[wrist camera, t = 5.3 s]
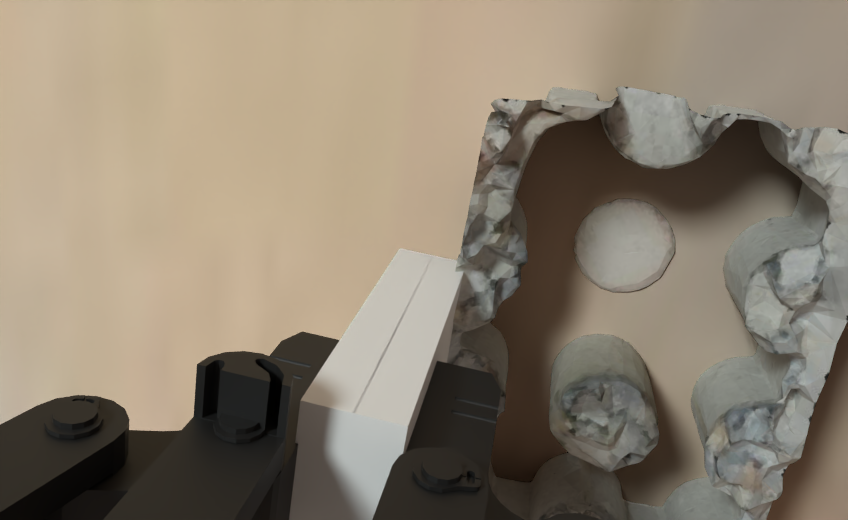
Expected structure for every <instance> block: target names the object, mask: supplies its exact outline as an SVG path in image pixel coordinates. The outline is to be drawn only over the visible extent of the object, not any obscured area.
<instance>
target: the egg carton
mask: <svg viewBox="0 0 848 520" xmlns="http://www.w3.org/2000/svg"><path fill="white" fill-rule="evenodd" d="M616 91H617V93H618V95H619V96H617V97H616V98H615V99H613V100H612V101H610V102H606V101H598V98H597V95H596V94H595V93H592V92H588V91H583V90H573V89H566V88H557V87H553V88H552V89H551V90H550V91H549V94H548V96H547V98H546V100H545V101H544V100H534V101H526V100H513V99H497V100H494V101H493V102H492V103H491V105H492V106H493V108H494V110H495V111H496V112H492V113H491V114H490V116H489V118H488V121H487V124H486V128H485V133H484V136H483V137H482V145H481V151H480V156H479V161H478V167H477V172H476V177H475V181H474V188H473V192H472V197H471V201H470V205H469V212H468V218H467V222H466V226H465V231H464V236H463V242H462V248H461V253H460V255H459V256H458V260H457V265H456V269H455V272H460V271H464V273H463V277H462V282H461V287H460V292H459V297H458V301H457V306H456V310H455V315H454V320H453V323H454V324H453V330H452V335H451V341H450V348H449V354H448V360H447V363H449V364H453V365H458V366H462V367H466V368H471V369H475V370H479V371H484V372H488V373H492V375H493V376H494V378H495V380H496V382H497V384H498V385H499V387H500V389H501V395H500V401H499V408H498V414H497V418H498V416H499V415H500V413H502V412H504V410H505V390H506V381H507V374H508V360H509V353H508V349H507V345H506V341H505V339H504V337H503V335H502V333H501V332H500V331H499V330H498V329H497V328H496V327H494V326H493V325H492V324H491V323H490V322H491V321H492V320H493V319H494V318H495V316H496V313H497V309H498V307H499V306H500V305H501V303H502V302H503V300H505V299H507V298H509V297H511V295H512V294H513V293H514V292H515V291H516V290H517V289H518V288H519V286H520V285H521V273H520V270H521V267H522V266H523V265H525V264H526V263H527V262H528V257H527V250H526V242H527V221H526V217H525V214H524V210H523V209H522V207H521V205H520V203H519V201H518V199H517V198H516V194H517V191H518V188H519V185H520V182H521V178H522V175H523V172H524V169H525V166H526V164H527V162H528V160H529V158H530V156H531V154H532V152H533V150H534V147H535V145H536V143H537V142H538V141H539V140H540V139H541V137H542V136H543V135H544V134H545V132H546V131H547V130H548V129H549V128H551V127H554V126H556V125H559V124H562V123H564V122H568V121H582V120H588V119H590V118H592V117H594V116H596V115H598V114H600V118H601V122H602V125H603V127H604V130H605V133H606V136H607V137H608V139H609V140H610V142H611V143H612V145H613V146H614V148H615V149H616V150H617V151H618V152H619V153H620V154H621V155H622V156H624V157H625V158H626V159H629V160H631V161H633V162H635V163H636V164H638V165H640V166H641V167H643V168H652V169H670V168H674V167H677V166H681V165H684V164H688V163H690V162H692V161H693V160H695V159H697V158H699V157H701V156H702V155H703V154H704V153H705V152H706V151H708V150H709V149H710V148H711V147H712V146H713V145H714V144H715V142H716V141H717V139H718V137H719V136H720V134H721V133H722V132H723V131H724V130H725V129H726V128H728V127H729V126H730V125H731V124H732V123H733V122H735V121H736V120H737V119H747V120H754V121H758V125H759V131H760V137H761V139H762V141H763V143H764V146H765V148H766V150H767V151H768V152H769V153H770V155H771V156H772V157H773V158H775V159H776V160H777V161H778V162H779V163H781V164H782V165H784V166H785V167H786V168H788V169H789V170H790V171H792V172H793V173H794V174H796V175H797V176H798V177H799V178H800V179H801V180H802V181H803V182H802V186H801V190H800V194H799V198H798V202H797V205H796V208H795V210H794V212H793V214H792V216H789V217H774V218H768V219H766V220H763V221H761V222H758V223H756V224H754V225H752V226H750V227H748V228H747V229H746V230H745V231H743V232H742V233H741V234H740V235H739V236H738V237H737V238H736V239H735V241H734V242H733V243H732V245H731V246H730V248H729V250H728V251H727V253H726V255H725V262H724V267H723V271H724V277H725V285H726V287H727V289H728V291H729V292H730V294H731V296H732V298H733V300H734V302H735V303H736V305H737V307H738V309H739V311H740V313H741V315H742V317H743V319H744V321H745V326H746V328H747V329H748V331H749V332H750V333H751V335H752V336H753V337H754V339H755V340H756V341H757V343H758V347H757V350H756V353H755V354H754V355H753V356H750V357H735V358H731V359H727V360H724V361H722V362H719V363H717V364H715V365H713V366H712V367H710V368H709V369H707V370H706V371H705V372H704V373H703V374H702V375H701V376H700V378H699V379H698V381H697V383H696V385H695V387H694V389H693V393H692V398H691V408H692V412H693V416H694V418H695V421H696V424H697V428H698V432H699V436H700V439H701V442H702V444H703V447H704V453H705V469H706V472H707V474H708V477H706V478H697V479H694V480H691V481H688V482H685V483H683V484H682V485H680V486H679V487H677V488H676V489H675V490H674V491H673V492H672V493H671V495H670V496H669V497H668V498H667V500H666V502H665V503H664V505H663V506H662V507H657V506H655V507H653V506H650V505H647V504H639V503H633V502H629V501H626V500H624V499H623V497H622V493H621V485H620V482H619V480H618V477H617V476H616V474H615V473H614V470H617V469H619V468H622V467H625V466H628V465H631V464H636V463H640V462H641V461H642V460H644V459H645V457H646V456H647V455H648V454H649V453H650V452H651V451H652V450H653V449H654V447H655V446H656V445H657V444H658V439H659V431H658V427H657V425H658V416H657V411H656V405H655V400H654V396H653V392H652V387H651V383H650V379H649V376H648V372H647V369H646V365H645V363H644V362H643V360H642V358H641V357H640V355H639V354H638V353H637V351H636V350H635V349H634V348H633V347H632V346H631V345H630V343H629V342H627V341H625V340H623V339H620V338H618V337H615V336H613V335H604V334H593V335H586V336H582V337H580V338H577V339H575V340H573V341H572V342H570V343H569V344H568V345H566V346H565V347H564V348H563V349H562V350H561V352H560V353H559V354H558V356H557V357H556V359H555V361H554V363H553V367H552V373H551V384H550V387H551V398H550V409H549V423H550V431H551V432H552V434H553V435H554V437H555V438H556V439H557V440H558V441H559V443H560V444H561V445H562V446H563V447H564V448H565V449H566V450H567V451H568V452H569V453H565V454H561V455H558V456H556V457H553V458H551V459H550V460H548V461H547V462H546V463H544V464H543V465H542V466H541V467H540V469H539V470H538V471H537V473H536V475H535V477H534V479H533V481H532V482H528V483H525V482H520V481H514V480H508V479H503V478H499V477H495V474H494V472H493V467H492V464H491V460H490V466H489V473H488V477H489V485H490V487H491V490H492V492H493V494H494V495H495V496H496V498H497V499H498V500H499V501H500V503H502V504H503V505H504V506H505V507H506V508H507V509H508V510H510V511H511V512H512V513H514V514H516V515H517V516H519V517H521V518H522V519H524V520H545V519H547V518H550V517H552V516H554V515H556V514H564V513H578V514H583V515H587V516H592V517H596V518H598V519H600V520H766V519H767V516H768V513H769V510H770V507H771V505H772V502H773V500H776V499H778V498H779V497H780V496H781V494H782V490H783V473H784V472H785V470H786V468H787V467H788V465H789V464H792V463H794V462H796V461H798V460H799V459H800V458H801V455H802V451H803V448H804V444H805V440H806V437H807V433H808V428H809V424H810V420H811V417H812V414H813V410H814V407H815V404H816V402H817V399H818V397H819V395H820V393H821V390H822V388H823V386H824V384H825V381H826V379H827V377H828V375H829V371H830V367H831V364H832V360H833V356H834V352H835V349H836V345H837V342H838V340H839V338H840V336H841V334H842V332H843V330H844V328H845V326H846V324H847V321H848V133H846V132H843V131H841V130H839V129H833V128H827V127H819V128H801V129H797V130H794V129H790V128H789V127H788V126H786V125H785V124H784V123H783V122H781V121H777V120H773V118H770V117H768V116H765V115H764V114H762V113H760V112H758V111H757V110H751V109H744V108H737V107H729V106H724V105H713V106H709V107H708V109H707V111H706V113H705V116H704V115H699V114H698V113H696V112H694V111H693V110H691V109H689V106H688V103H687V100H686V99H685V98H678V97H675V96H672V95H668V94H661V93H656V92H652V91H647V90H641V89H635V88H629V87H617V88H616ZM574 240H575V248H574V249H573V251H574V252H575V254H576V256H575V260H576V262H577V264H578V266H579V268H580V270H581V271H582V273H583V274H584V275H585V276H586V277H587V278H588V279H589V280H590V281H591V282H592V283H594V284H595V285H597V286H598V287H600V288H601V289H604V290H608V291H611V292H632V291H636V290H639V289H642V288H645V287H648V286H649V285H650V284H652V283H653V282H655V281H656V280H657V279H659V278H660V277H661V275H662V274H663V272H664V271H665V269H666V267H667V266H668V264H669V262H670V261H671V259H672V257H673V255H674V253H675V239H674V235H673V230H672V228H671V226H670V225H669V223H668V222H667V220H666V219H665V217H664V216H663V215H662V214H661V213H660V212H659V210H658V209H657V208H656V207H654V206H652V205H651V204H649V203H647V202H643V201H639V200H634V199H617V200H615V201H613V202H612V203H606V204H603V205H600V206H598V207H596V208H594V209H593V211H592V212H591V213H590V214H588V215H587V216H586V217H585V218H584V219H583V221H582V223H581V225H580V227H579V229H578V231H577V233H576V235H575V237H574Z"/></svg>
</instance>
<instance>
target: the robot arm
mask: <svg viewBox="0 0 848 520" xmlns="http://www.w3.org/2000/svg"><path fill="white" fill-rule="evenodd" d="M456 265H457V260H452V259H448V258H443V257H439V256H434V255H429V254H425V253H420V252H415V251H411V250H406V249H402V248H400V249H399V250H398V252H397V253H396V255H395V256H394V258H393V259H392V261H391V262H390V264H389V265H388V267H387V268H386V270H385V272H384V273H383V275H382V276H381V278H380V279H379V281H378V282H377V284H376V285H375V287H374V288H373V290H372V291H371V293H370V295H369V296H368V298H367V299H366V301H365V302H364V304H363V305H362V307H361V308H360V310H359V311H358V313H357V314H356V316H355V318H354V319H353V321H352V322H351V324H350V325H349V327H348V328H347V330H346V331H345V333H344V334H343V336H342V337H341V339H340V340H336V339H332V338H328V337H323V336H319V335H315V334H310V333H306V332H300V333H298V334H296V335H294V336H292V337H290V338H287V339H285V340H283V341H281V342H280V344H279V345H278V346H277V347H276V349H275V350H274V351H273V352H272V353H271V355H270V356H267V355H264V354H260V353H253V352H245V351H240V352H225V353H221V354H217V355H214V356H210V357H208V358H206V359H205V360H203V361H202V362H200V363H199V364H197V374H196V390H195V406H194V417H193V418H192V419H191V420H190V421H189V423H188V424H187V425H186V426H185V427H184V428H183V429H182V430H180V431H137V430H129V418H128V415H127V413H126V411H125V409H124V408H123V407H121V406H120V405H118V404H117V403H116V402H114V401H112V400H108V399H104V398H101V397H97V396H85V395H76V396H70V397H64V398H57V399H54V400H51V401H49V402H46V403H43V404H40V405H38V406H36V407H34V408H32V409H30V410H28V411H26V412H24V413H22V414H20V415H18V416H16V417H14V418H12V419H10V420H9V421H7V422H5V423H3V424H1V425H0V520H524V519H522V518H521V517H519V516H517V515H516V514H514V513H512V512H511V511H510V510H508V509H507V508H506V507H505V506H504V505H503V504H502V503H500V501H499V500H498V499H497V498H496V496H495V495H494V494H493V492H492V490H491V487H490V485H489V477H488V473H489V466H490V460H491V453H492V447H493V440H494V434H495V427H496V421H497V414H498V408H499V401H500V395H501V389H500V387H499V385H498V384H497V382H496V380H495V378H494V376H493V375H492V373H488V372H484V371H479V370H475V369H471V368H466V367H462V366H458V365H453V364H449V363H447V360H448V354H449V348H450V341H451V335H452V330H453V324H454V323H453V320H454V315H455V310H456V306H457V301H458V297H459V292H460V287H461V282H462V277H463V273H464V271H460V272H455V269H456ZM545 520H600V519H598V518H596V517H592V516H587V515H583V514H578V513H564V514H556V515H554V516H552V517H550V518H547V519H545Z"/></svg>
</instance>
